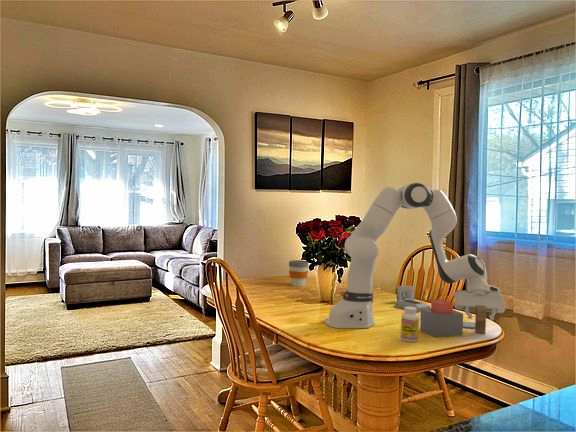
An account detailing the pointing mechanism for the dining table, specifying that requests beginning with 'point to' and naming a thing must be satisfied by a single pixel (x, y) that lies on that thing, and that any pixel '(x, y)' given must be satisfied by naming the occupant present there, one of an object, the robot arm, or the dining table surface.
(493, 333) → the dining table surface
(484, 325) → the brown wooden block
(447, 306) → the button
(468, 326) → the pad
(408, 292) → the electrical switch
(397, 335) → the dining table surface
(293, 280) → the reusable coffee cup
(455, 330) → the gray socket block
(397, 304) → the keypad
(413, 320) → the supplement bottle
